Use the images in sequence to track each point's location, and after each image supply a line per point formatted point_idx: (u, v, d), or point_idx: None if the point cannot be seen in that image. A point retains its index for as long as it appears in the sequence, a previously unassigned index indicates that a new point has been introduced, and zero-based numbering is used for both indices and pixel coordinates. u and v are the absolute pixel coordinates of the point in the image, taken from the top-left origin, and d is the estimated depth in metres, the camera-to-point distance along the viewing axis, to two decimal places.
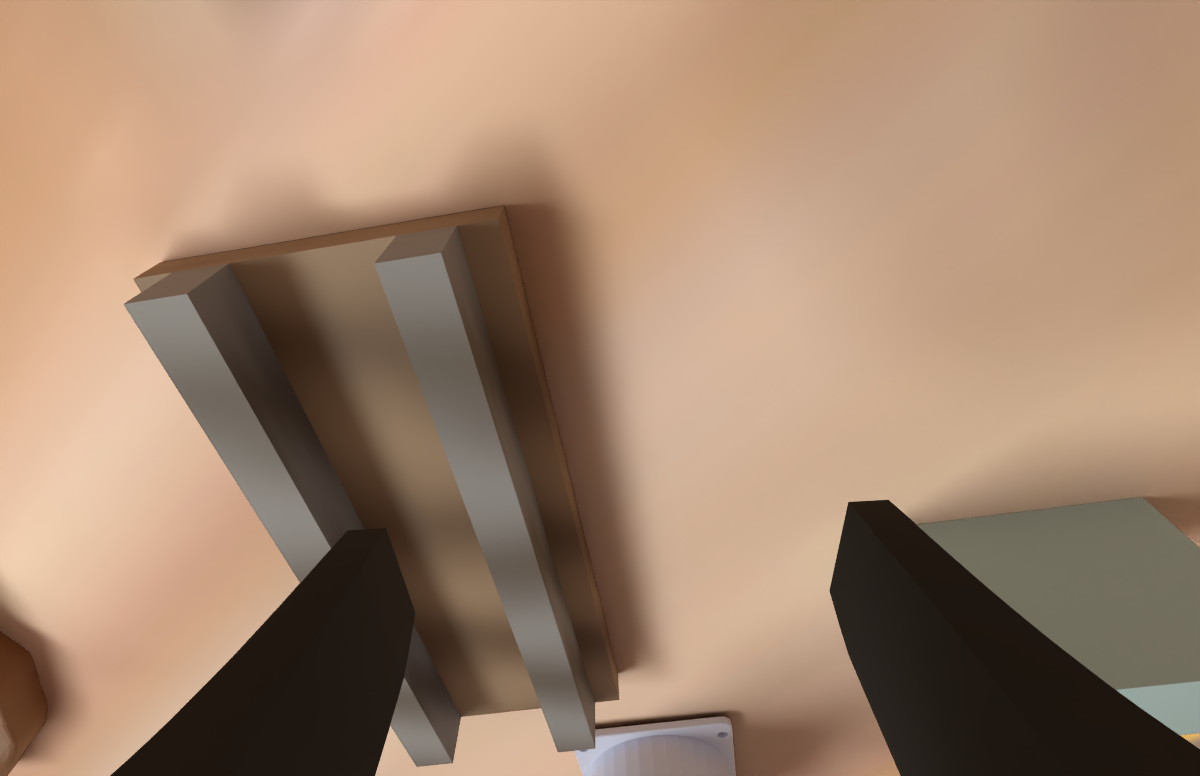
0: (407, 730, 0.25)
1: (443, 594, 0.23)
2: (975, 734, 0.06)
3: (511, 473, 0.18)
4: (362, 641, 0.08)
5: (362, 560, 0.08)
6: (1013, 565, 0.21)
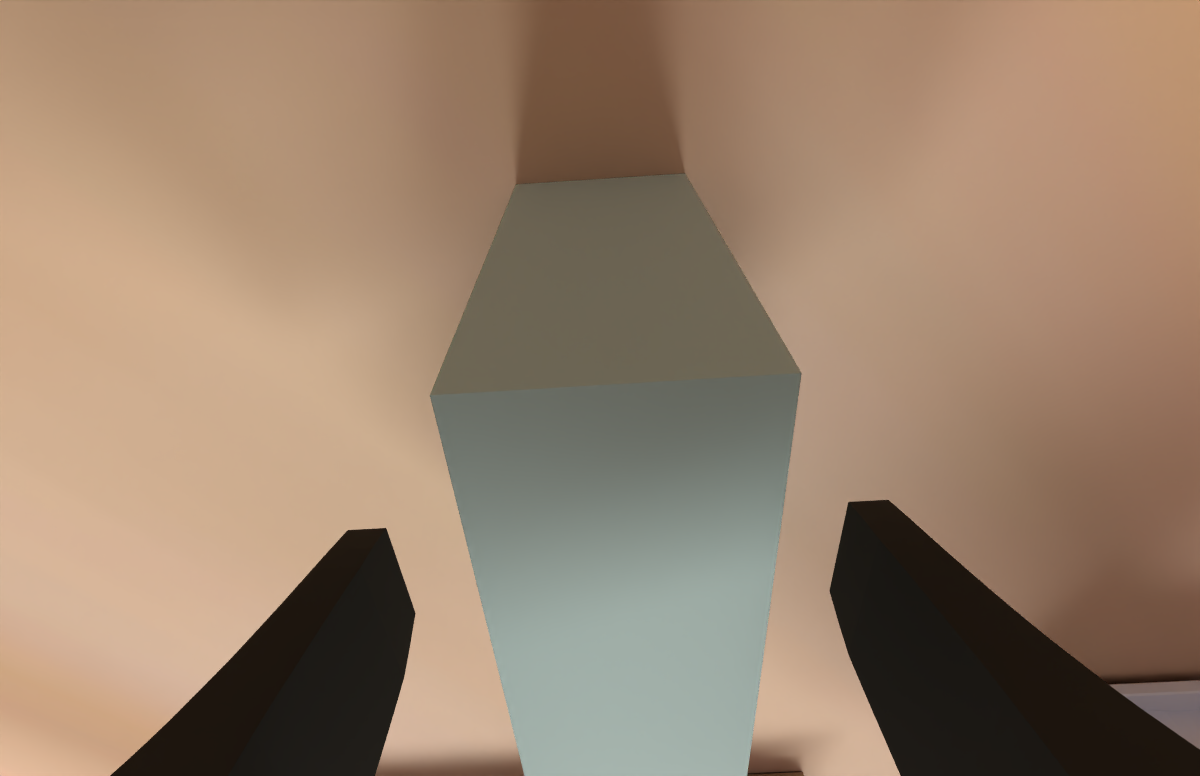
0: None
1: None
2: (975, 734, 0.06)
3: None
4: (362, 641, 0.08)
5: (362, 560, 0.08)
6: None
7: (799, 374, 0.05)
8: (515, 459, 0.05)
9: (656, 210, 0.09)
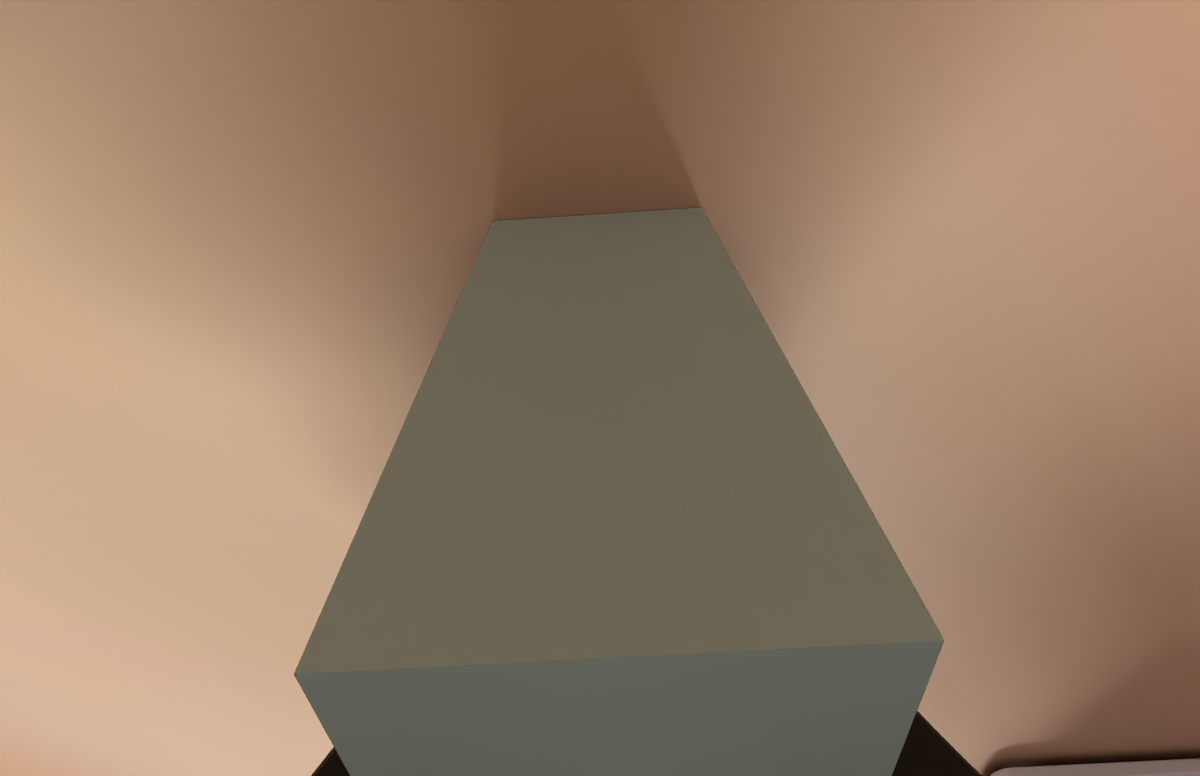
0: None
1: None
2: None
3: None
4: None
5: None
6: None
7: (941, 643, 0.03)
8: (451, 748, 0.03)
9: (670, 268, 0.07)
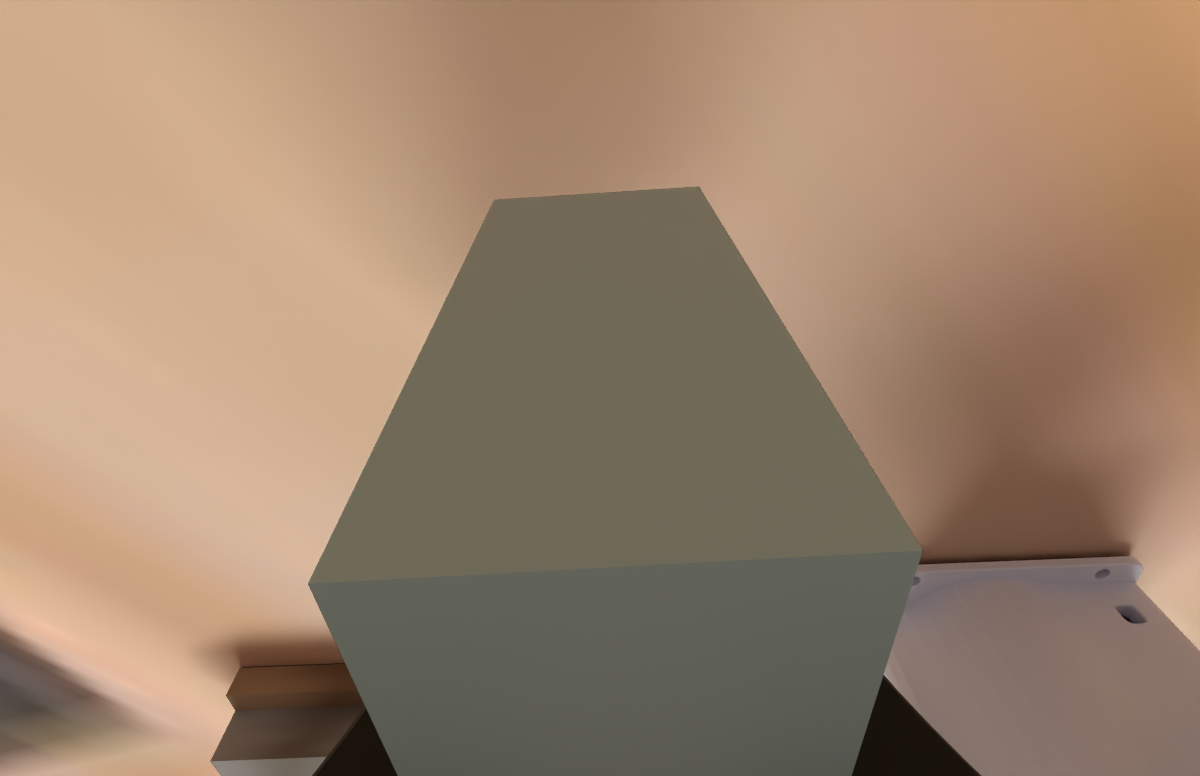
0: None
1: None
2: None
3: None
4: None
5: None
6: None
7: (919, 554, 0.03)
8: (456, 665, 0.03)
9: (668, 240, 0.07)
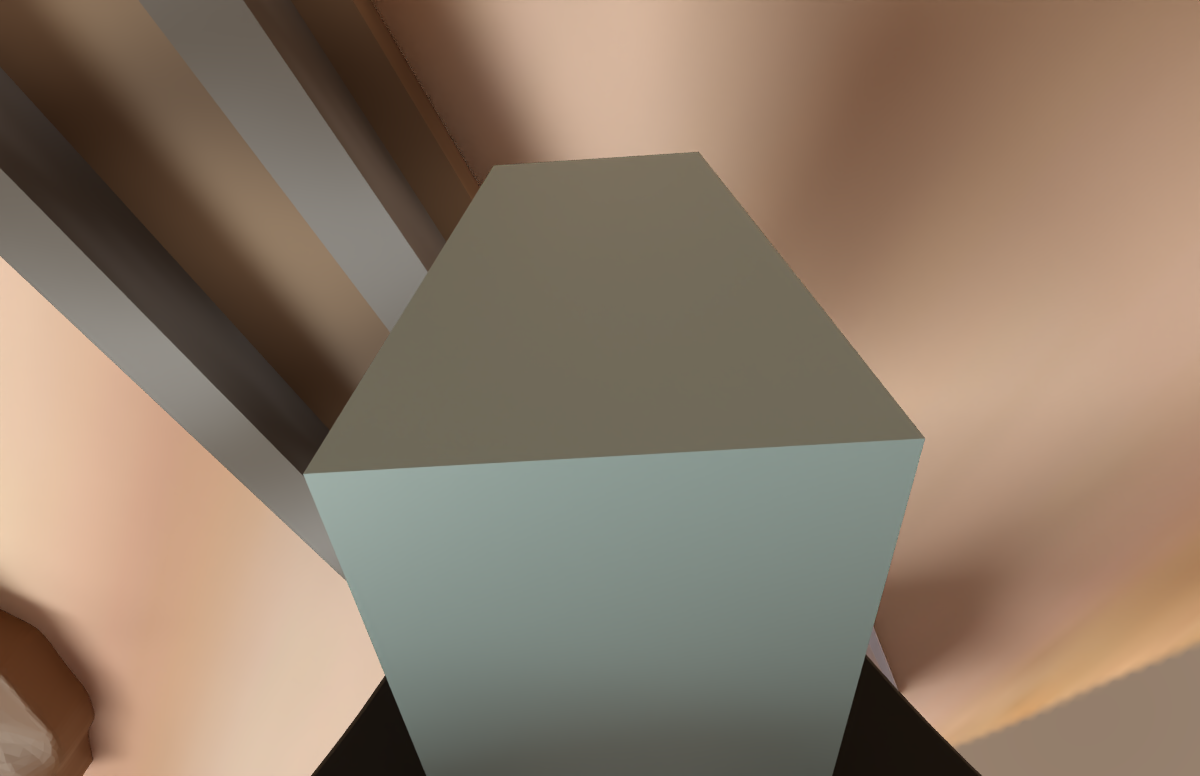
0: None
1: None
2: None
3: (387, 206, 0.13)
4: None
5: None
6: None
7: (919, 442, 0.03)
8: (453, 569, 0.03)
9: (667, 195, 0.07)
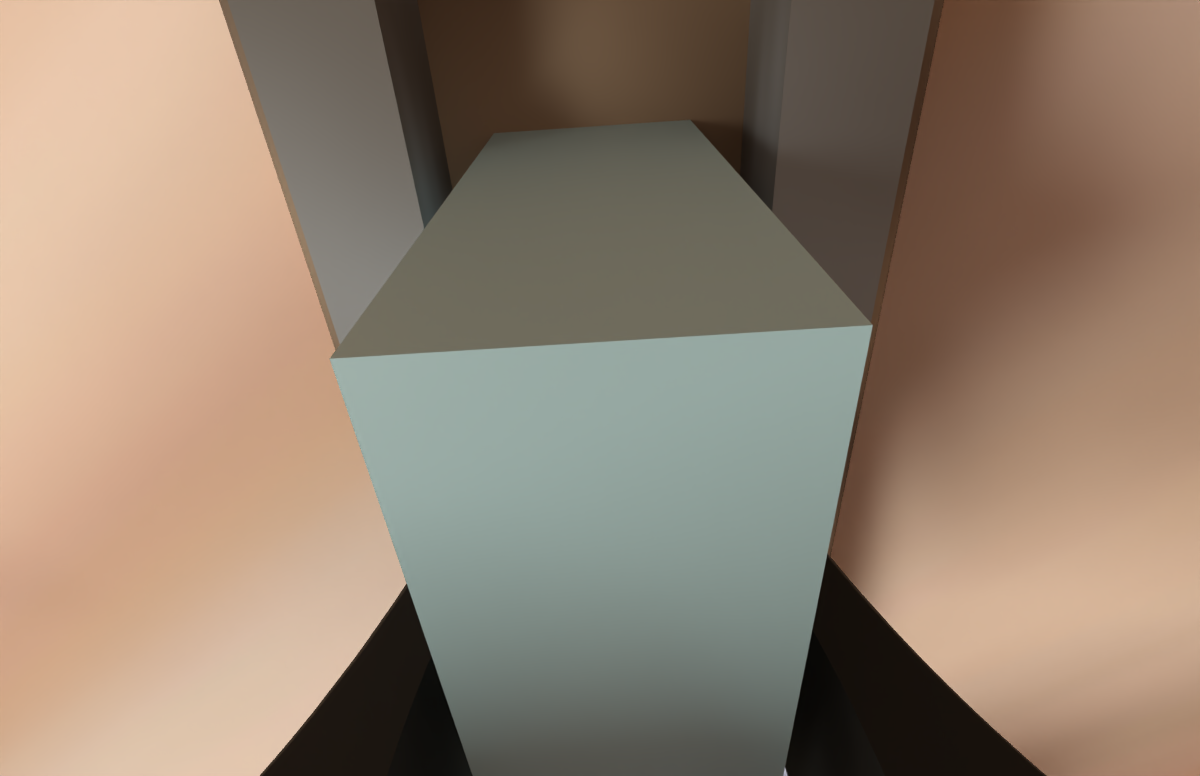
0: None
1: None
2: (833, 741, 0.06)
3: None
4: None
5: None
6: None
7: (869, 327, 0.03)
8: (460, 452, 0.04)
9: (658, 154, 0.07)
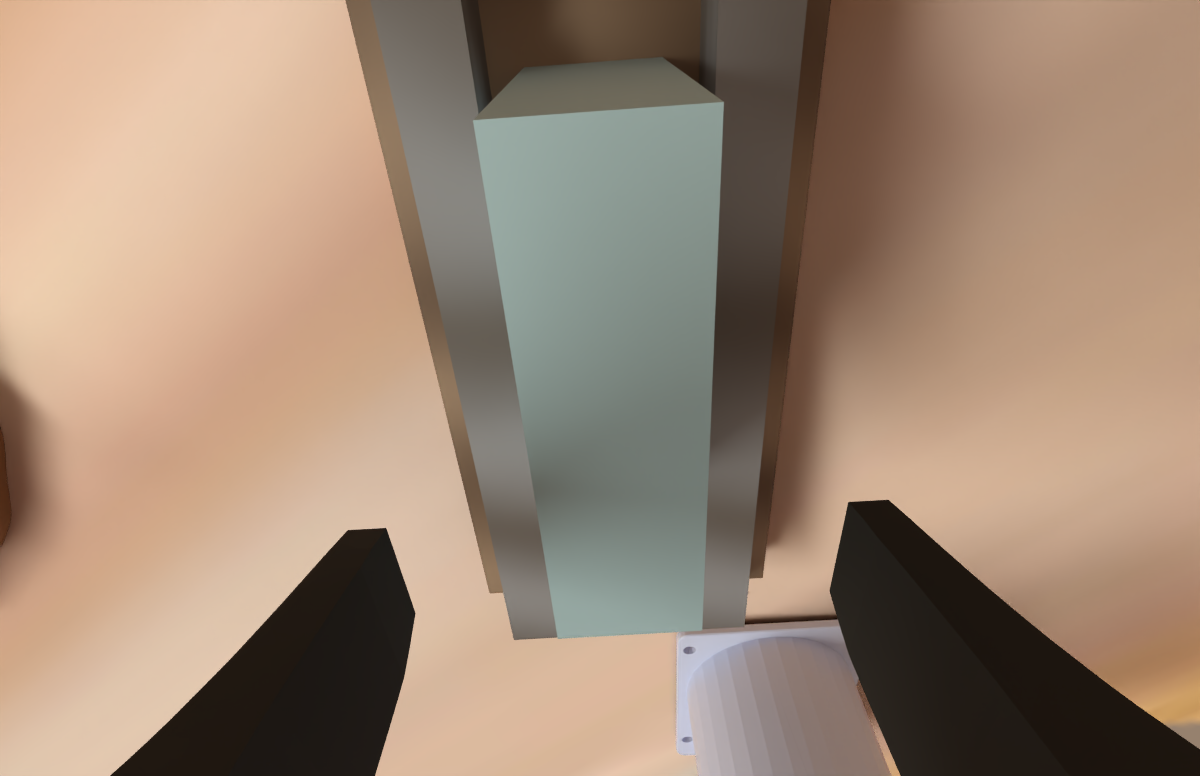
0: (518, 583, 0.19)
1: None
2: (975, 734, 0.06)
3: None
4: (362, 641, 0.08)
5: (362, 560, 0.08)
6: None
7: (722, 104, 0.07)
8: (530, 178, 0.08)
9: (636, 69, 0.11)
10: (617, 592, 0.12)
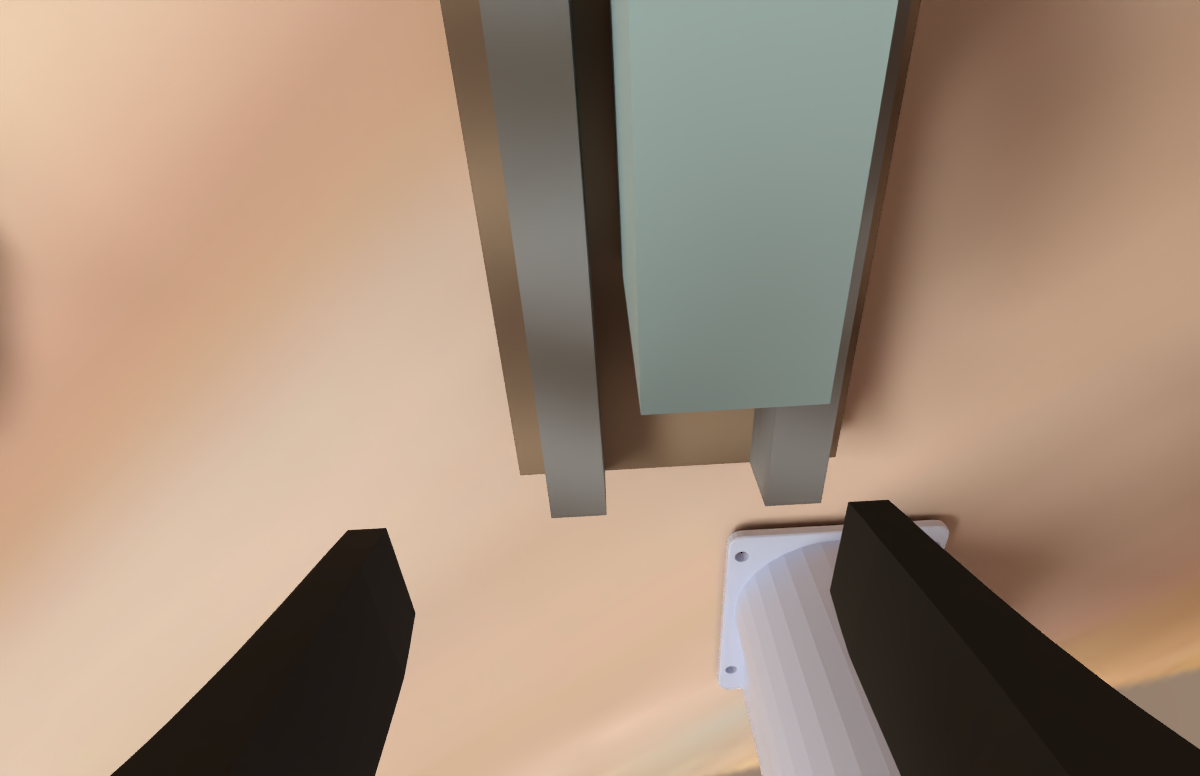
0: (561, 439, 0.16)
1: None
2: (975, 734, 0.06)
3: None
4: (362, 641, 0.08)
5: (362, 560, 0.08)
6: (617, 103, 0.11)
7: None
8: None
9: None
10: (727, 335, 0.09)
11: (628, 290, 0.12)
